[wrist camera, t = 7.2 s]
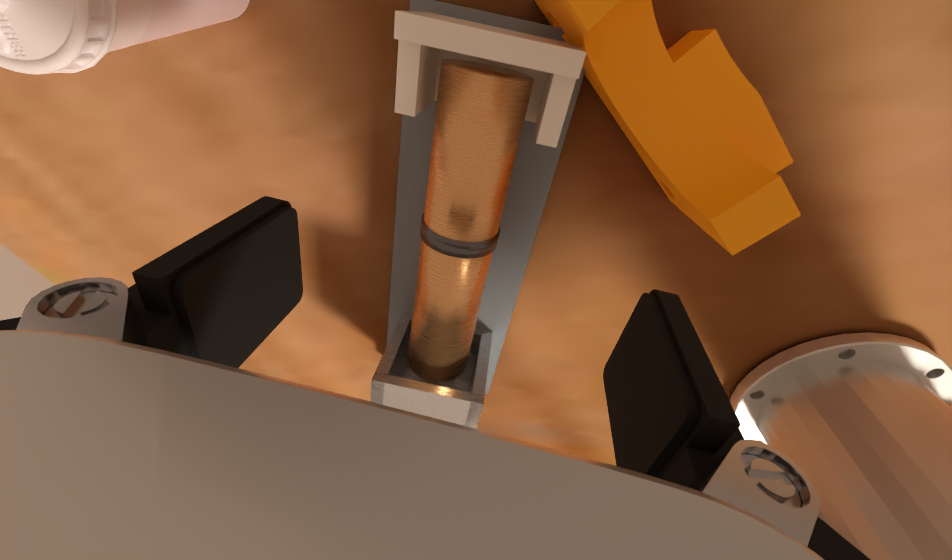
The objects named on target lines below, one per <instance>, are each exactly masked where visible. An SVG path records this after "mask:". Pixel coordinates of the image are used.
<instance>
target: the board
mask: <svg viewBox="0 0 952 560" xmlns="http://www.w3.org/2000/svg"><path fill="white" fill-rule="evenodd" d="M409 11H420V12H431V13H435V14H440V15H444V16H449V17H453V18H458V19H463V20H467V21H472V22H476V23H481V24H485V25H490V26H495V27H499V28H504V29H508V30H513V31H517V32H522V33H527V34H531V35H536V36H540V37H545V38H549V39H554V40H558V41H563V42H565V40H564V39H563V37H562V35H564V34H565V33H564V31H563V30H562V28H559V27H554V26H551V25H546V24H542V23H537V22H532V21H528V20H523V19H519V18H514V17H510V16H505V15H500V14H496V13H491V12H487V11H482V10H478V9H473V8H469V7H464V6H459V5H455V4H450V3H446V2H441V1H437V0H410V5H409ZM584 74H585V70H584V68H583V67H582V70H581V73H580V76H579V79H576V82H575V85H574V89H573V92H572V96H571V99H570V103H569V106H568V109H567V113H566V116H565V120H564V123H563V126H562V130H561V133H560V137H559V140H558V144H557V147H556V148H555V147H550V146H546V145H541V144H536V123H535V122H530V121H525V120H524V125H523V129H522V133H521V137H520V141H519V146H518V150H517V154H516V158H515V162H514V167H513V171H512V175H511V179H510V183H509V188H508V192H507V196H506V200H505V204H504V209H503V213H502V217H501V221H500V235H499V239H498V243H497V247H496V249H495V250H494V251H493V255H492V259H491V263H490V268H489V272H488V276H487V280H486V284H485V289H484V293H483V297H482V301H481V305H480V310H479V314H478V318H477V322H476V326H475V328H479V329H484V330H489V331H493V334H492V342H491V349H490V357H489V365H488V373H487V381H486V388H485V394H488V392H489V389H490V386H491V382H492V379H493V376H494V372H495V369H496V366H497V362H498V359H499V356H500V352H501V349H502V346H503V342H504V339H505V336H506V332H507V329H508V326H509V323H510V319H511V316H512V313H513V309H514V306H515V303H516V299H517V296H518V293H519V289H520V286H521V283H522V279H523V276H524V273H525V269H526V266H527V263H528V259H529V256H530V253H531V250H532V246H533V243H534V240H535V236H536V233H537V230H538V226H539V223H540V220H541V216H542V213H543V210H544V206H545V203H546V200H547V196H548V193H549V190H550V186H551V183H552V180H553V177H554V173H555V170H556V167H557V163H558V160H559V157H560V153H561V150H562V147H563V143H564V140H565V137H566V133H567V130H568V127H569V123H570V120H571V117H572V114H573V110H574V107H575V104H576V100H577V97H578V94H579V90H580V87H581V84H582V80H583V77H584ZM436 105H437V101H433V102H432V103H430V104H429V105H428V106H427V107H426V108H425V109H423V110H422V111H421V112H420V113H419V114H418V115H416V116H415V117H413V116H408V115H404V114H402V123H401V138H400V153H399V167H398V182H397V197H396V212H395V227H394V241H393V256H392V271H391V286H390V300H389V315H388V330H387V345H388V342H389V340H390V338H391V336H392V333H393V331H394V329H395V327H396V324H397V322H398V320H399V317H400V315H401V313H402V312H406V313H411V314H413V308H414V299H415V290H416V281H417V272H418V264H419V255H420V246H421V237H420V227H421V218H422V214H423V213H424V211H425V202H426V193H427V184H428V176H429V167H430V158H431V149H432V140H433V132H434V123H435V114H436ZM387 345H386V347H387Z"/></svg>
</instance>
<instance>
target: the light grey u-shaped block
mask: <svg viewBox="0 0 952 560" xmlns="http://www.w3.org/2000/svg"><path fill="white" fill-rule="evenodd" d="M394 39H398V40H399V42H398V59H397V77H396V94H395V113H399V114H404V115H408V116H413V117H415V116H416V115H418V114H419V113H420V112H421V111H422V110H423V109H425V108H426V107H427V106H428V105H429V104H430V103H432V102H433V101H437V96H438V87H439V79H440V70H441V61H442V59H462V60H469V61H476V62H481V63H486V64H491V65H496V66H500V67H504V68H508V69H511V70H515V71H518V72H521V73H524V74H526V75H529V76H531V77H532V78H534V83H533V87H532V91H531V95H530V99H529V104H528V108H527V112H526V116H525V121H530V122H535V123H536V144H541V145H546V146H550V147H555V148H556V147H557V144H558V140H559V137H560V133H561V130H562V126H563V123H564V120H565V116H566V113H567V109H568V106H569V103H570V99H571V96H572V92H573V89H574V85H575V82H576V79H579V76H580V73H581V70H582V66H583V63H584V59H585V56H586V53H587V52H585V51H584V50H582V49H581V48H579V47H577V46H574V45H572V44H569V43H567V42H563V41H558V40H554V39H549V38H545V37H540V36H536V35H531V34H527V33H522V32H517V31H513V30H508V29H504V28H499V27H495V26H490V25H485V24H481V23H476V22H472V21H467V20H463V19H458V18H453V17H449V16H444V15H440V14H435V13H431V12H420V11H397V10H395V23H394Z"/></svg>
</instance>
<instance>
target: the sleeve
mask: <svg viewBox="0 0 952 560" xmlns="http://www.w3.org/2000/svg"><path fill="white" fill-rule="evenodd" d="M412 316H413V314H411V313H406V312H402V313H401V315H400V317H399V320H398V322H397V324H396V327H395V329H394V331H393V333H392V336H391V338H390V340H389V342H388V345H387V347H386V349H385V351H384V354H383V356H382V358H381V360H380V363H379V365H378V367H377V369H376V372H375V374H374V376H373V378H372V386H371V402H374V403H377V404H381V405H385V406H389V407H393V408H397V409H401V410H405V411H409V412H413V413H416V414H420V415H424V416H428V417H432V418H436V419H440V420H444V421H448V422H451V423H455V424H459V425H463V426H467V427H471V428H475V429H476V428H477V424H478V421H479V418H480V414H481V411H482V408H483V404H484V396H485V388H486V381H487V373H488V365H489V357H490V349H491V342H492V334H493V331H489V330H484V329H479V328H475V331H474V335H473V339H472V343H471V347H470V352H469V356H468V360H467V364H466V368H465V370H464V372H463V373H462V374H461V375H460V376H459V377H457V378H456V379H454V380H451V381H448V382H432V381H428V380H425V379H423V378H421V377H419V376H418V375H416V374H415V373H414V372H413V371H412V369H411V368H410V366H409V363H408V352H409V343H410V334H411V325H412Z"/></svg>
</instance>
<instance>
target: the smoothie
mask: <svg viewBox="0 0 952 560" xmlns="http://www.w3.org/2000/svg"><path fill="white" fill-rule="evenodd" d="M249 2H250V0H0V67H3V68H5V69H9V70H12V71H16V72H21V73H26V74H48V73H76V72H79V71H82V70H84V69H87V68H90V67H93V66H95V65H96V64H97V63H98V62H99V60H100V59H101V58H102V57H103V56H104V55H105V54H106V53H107V52H110V51H115V50H119V49H123V48H126V47H129V46H133V45H136V44H140V43H144V42H148V41H152V40H156V39H159V38H163V37H167V36H171V35H175V34H179V33H182V32H186V31H190V30H194V29H198V28H202V27H206V26H209V25H213V24H217V23H221V22H225V21H229V20H232V19H235V18H237V17H239V16H240V15H242V14H243V13H244V11H245V10H246V8H247V7H248V5H249Z"/></svg>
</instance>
